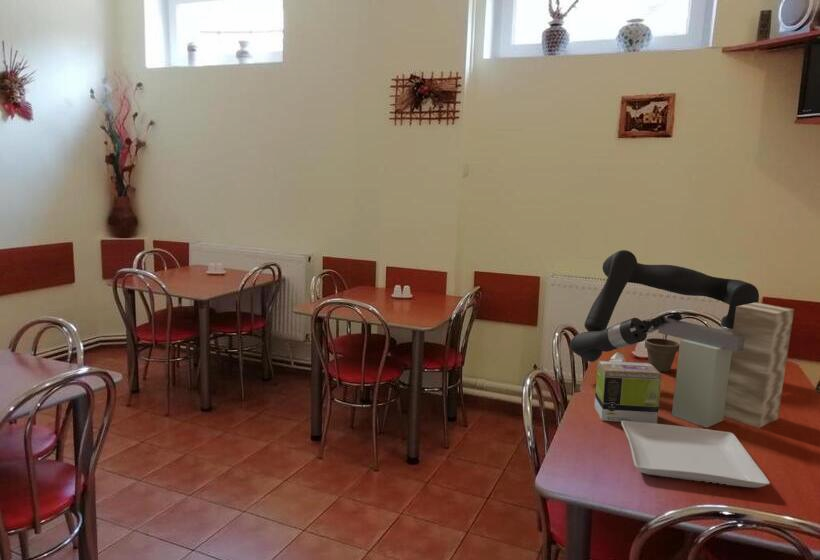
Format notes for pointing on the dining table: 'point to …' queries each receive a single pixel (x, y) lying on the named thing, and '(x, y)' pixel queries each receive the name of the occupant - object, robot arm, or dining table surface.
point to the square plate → (692, 454)
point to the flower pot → (661, 352)
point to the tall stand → (758, 363)
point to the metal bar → (703, 334)
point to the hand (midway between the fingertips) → (672, 317)
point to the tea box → (627, 391)
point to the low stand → (701, 383)
